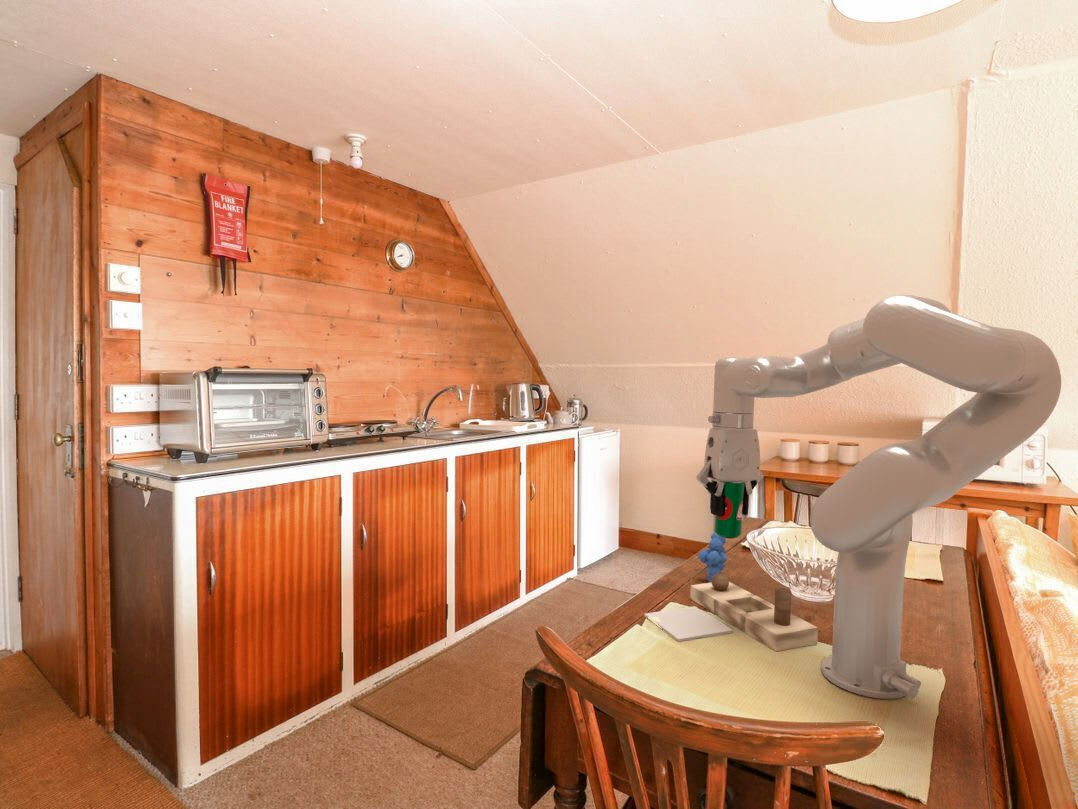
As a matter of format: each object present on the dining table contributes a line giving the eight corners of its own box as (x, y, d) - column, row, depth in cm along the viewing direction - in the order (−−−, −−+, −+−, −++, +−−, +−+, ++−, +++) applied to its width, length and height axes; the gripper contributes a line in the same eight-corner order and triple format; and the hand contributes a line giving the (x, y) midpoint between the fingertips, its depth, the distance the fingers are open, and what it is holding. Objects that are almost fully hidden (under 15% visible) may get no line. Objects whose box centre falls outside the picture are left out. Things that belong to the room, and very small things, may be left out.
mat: (732, 632, 113) (732, 630, 112) (678, 641, 108) (678, 639, 108) (694, 608, 124) (694, 606, 124) (644, 616, 119) (644, 613, 119)
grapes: (701, 572, 146) (702, 524, 146) (729, 576, 143) (731, 527, 143) (692, 587, 136) (693, 535, 135) (723, 592, 133) (724, 539, 132)
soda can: (742, 540, 114) (746, 479, 113) (714, 537, 115) (718, 476, 114) (739, 532, 119) (743, 473, 118) (713, 530, 120) (717, 471, 119)
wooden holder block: (817, 643, 108) (819, 595, 108) (776, 651, 105) (778, 601, 105) (726, 593, 132) (727, 553, 132) (690, 598, 129) (691, 557, 129)
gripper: (706, 424, 109) (702, 521, 110) (782, 423, 115) (778, 516, 116) (683, 420, 116) (680, 512, 118) (756, 419, 122) (752, 507, 123)
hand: (729, 513), depth 117 cm, fingers closed on soda can, 5 cm apart
